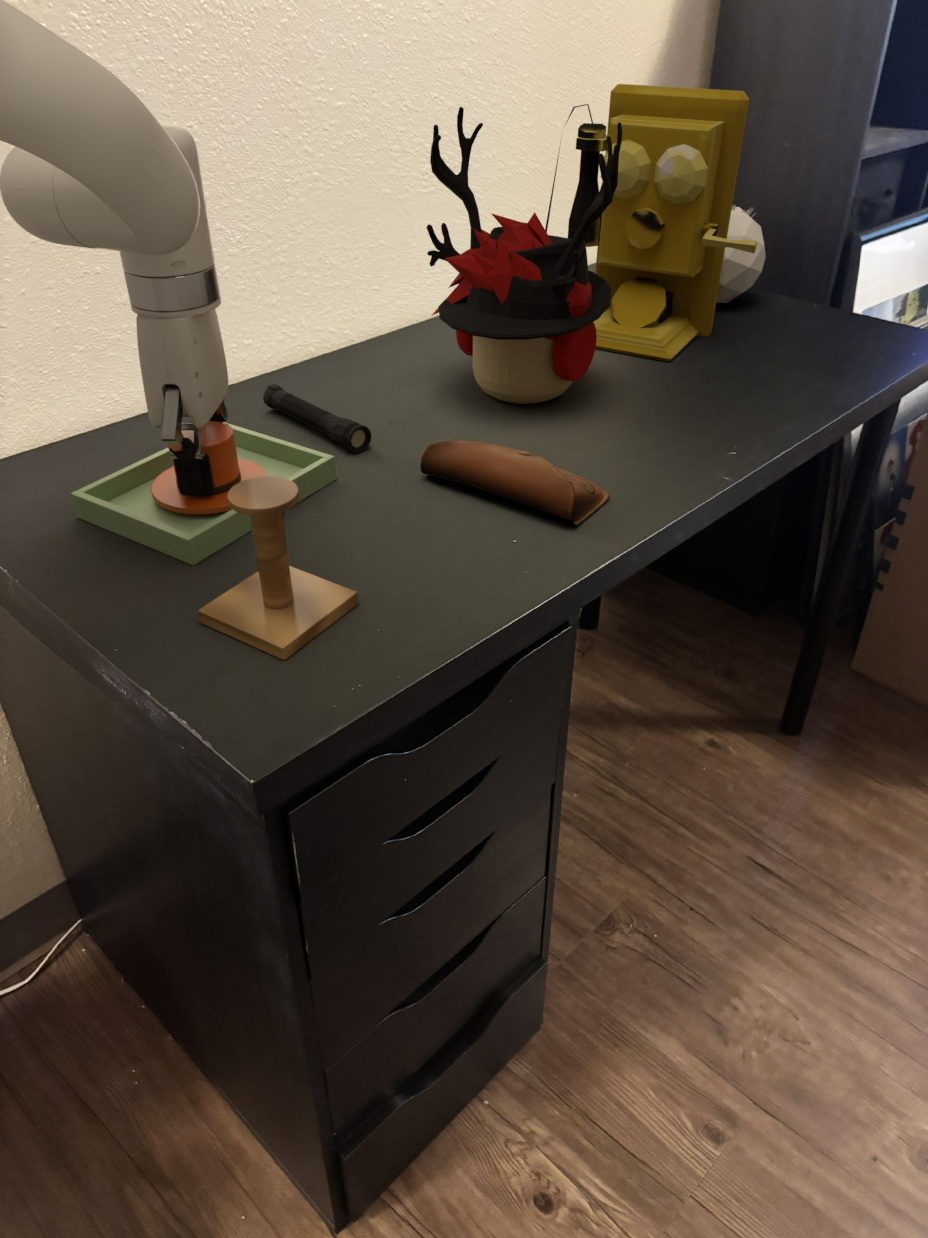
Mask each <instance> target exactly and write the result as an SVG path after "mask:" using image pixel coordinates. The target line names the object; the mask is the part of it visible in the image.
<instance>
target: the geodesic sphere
mask: <svg viewBox="0 0 928 1238" xmlns="http://www.w3.org/2000/svg"><path fill="white" fill-rule="evenodd" d="M753 211H754V208H753V207H750V208H748V209H747V210H746V209H745V210H744V209H742V208H741V207H740V206H736V204H732V209H731V215H730V222H729V228H728V234H727V239H729V240H751V241H757V246H756V251H755V253H750V252H746V251H742V250H738V249H734V248H730V247H725V252H724V258H723V264H722V271H721V277H720V283H719V289H718V295H717V301H716V304H728V303H730V302H731V301H733V300H734V299H735V298H737V297H738V296H740V295H742V294H744V293H745V292H746V291H747V290H749V289H751V288H752V287H753V286H754V285H755V283H756V281H757V280H758V278H759V277H760V275H761V274H762V272H763V269H764V265H765V261H766V257H767V255H766V248H765V247H766V246H765V240H764V235H763V230H762V226H761V225H760V224H759V223H758V222H756V221H755V219H754V218H753V217H754V216H755V215H756V214H757V212H754V213H753V214H752V212H753ZM751 214H752V215H751ZM750 215H751V216H750Z"/></svg>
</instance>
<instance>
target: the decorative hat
mask: <svg viewBox="0 0 928 1238" xmlns="http://www.w3.org/2000/svg"><path fill="white" fill-rule="evenodd" d="M464 109H465V108H464V107H463V106H459V107H458V111H457V115H456V116H457V117H456V128H457V136H458V137H457V138H458V144H459V148H460V154H461V166H460V171H459V172H458V173H457V174H456V173H455V172H454V171H453V170H452V169H451V168H450V167H449V166H448V165H447V163H446V162H445V161H444V159H443V158H442V157H441V151H440V141H441V139H442V136H441V135H440V134H439V133H440V132H439V131H440V130H439V125H438V124H434V125H433V133H432V143H431V148H430V161H429V162H430V168H431V173H432V174H433V175H434V176H435V178H436V179H437V180H438V181H439V183H441V184H443V185H444V186H445V187H446V188H447V189H448V190H449V191H451V192H452V193H453V194H454V195H455V196H456V197H457V198H459V200H460V201H462V203H463V206H464V207H465V210H466V212H467V215H468V221H469V226H470V243H469V244H470V248H468V249H467V250H465V251H464V252H462V253H459V251H457V250H456V248H455V247H454V246H453V243H452V240H451V236H450V232H449V228H448V226H447V224H446V223H445V222H442V223H441V225H440V229H441V235H442V238H443V242H441V240H439V238H438V236H437V235H436V233H435V230H434V227H433V226H432V224H430V223H429V224H427V226H426V231H427V233H428V236H429V238H430V241H431V242H432V245H433V247H434V248H435V249H436V250H435V249H432V250H428V251H427V255H428V256H430V261H429V266H430V267H435V265H436V263H437V262H438V261H439V260H441V261H445V262H447V263H448V264H449V265H450V266H451V267H452V268H453V269H455V271H456V272H457V273H458V274H457V275H456V277H455V278H454V279H453V281H452V282H451V284H450V285H449V286H448V288H452V287H455V286H456V287H455V288H454V289H452V291H451V292H450V294H449V295H448V296H447V297H446V298H445V299H444V300H443V301H442V302H441V303H440V304H439V305H438V306H437V308H436V310H435V311H433V313H432V314H431V316H434V315H436V314H438V315H439V320H441V321H442V322H443V323H444V324H445V325H447V326H448V327H450V328H451V329H452V330H455V335H456V343H457V346H458V348H459V350H460V351H462V352H463V353H464V354H465V355H466V356H470V357H472V371H473V376H474V380H475V382H476V384H477V385H478V386H479V387H480V389H481V390H482V392H484V393H485V394H487V395H489V396H491V397H493V398H495V399H496V400H499V401H502V402H505V403H511V404H519V405H523V404H524V405H527V404H528V405H529V404H530V405H532V404H539V403H544V402H548V401H550V400H552V399H554V398H557V397H559V396H560V395H563V394H564V393H565V392H566V391H567V389H569V387H570V386H571V385H572V383H573V382H577V381H579V380H580V379H582V378H583V377H584V375H586V373H587V372H588V370H589V368H590V366H591V364H592V363H593V359H594V356H595V352H596V349H595V347H596V328H595V324H594V321H596V320H597V319H599V318H600V316H601V315H602V314H603V313H604V311H605V310H606V309H607V308H608V307H609V305H610V301H611V294H612V289H611V287H610V286H609V284H608V282H607V281H606V280H605V279H603V278H602V277H600V276H598V275H597V274H595V272H594V271H592V270H589V265H588V252H587V247H586V243H585V237H586V235H587V233H588V231H589V230H590V228H591V227H592V226H593V224H594V223H595V221H596V220H597V219H598V218H599V217H600V216H601V215H602V213H603V212H604V211H605V209H606V208H607V207H608V206H609V205H610V204H611V203H612V199H613V195H614V193H615V190H616V188H617V185H618V165H619V152H620V148H621V142H622V125H621V123H620V122H619V123H618V125H617V144H616V145H615V146H614V150H613V154H612V141H611V138H610V136H607V137H606V138H607V147H608V160H607V165H606V162H605V159H604V154H603V153H600V154H599V156H598V157H599V172H600V178H601V177H602V178H601V181H602V182H601V186H600V187H599V193H598V195H597V196H596V198H595V200H594V202H593V204H592V206H591V207H590V208H589V209H588V210H587V211H586V212H585V214H584V216H583V218H582V220H581V222H580V224H579V226H578V228H577V230H576V232H575V234H574V236H573V238H572V239H569V238H568V237H562V236H557V235H551V234H548V231H547V232H546V231H545V227H544V225H543V223H542V222H541V220H540V218H539V217H538V215H537V214H536V212H535V211H534V213H533V214H532V215H531V217H530V219H529V220H528V222H524V221H519V220H516V219H512V218H509V217H505V216H502V215H499V214H495V213H490V215H492V217H493V218H494V219H495V220H496V221H497V222H498V224H499V225H500V226H496V227H493V229H492V230H491V231H490V233H489V232H488V231H486V230H484V229H482V225H481V218H480V211H479V207H478V204H477V201H476V197H475V194H474V192H473V191H472V189H471V188H470V186H469V167H470V166H469V165H470V159H471V152H472V147H473V144H474V143H475V141H476V138H477V137H478V134H479V132H480V131H481V129H482V128H483V126H484V123H483V122H480V123H478V124H477V125H476V127H475V128H474V130H473V132H472V133H471V136H470V137H466V135H465V133H464V126H463V124H464Z"/></svg>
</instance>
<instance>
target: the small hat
mask: <svg viewBox="0 0 928 1238" xmlns="http://www.w3.org/2000/svg"><path fill="white" fill-rule="evenodd" d="M181 431H182V434H183V435H184V438H189V439H190V440H191V441H192V442H193V443H194V433H193V431H194V430H181ZM203 435H204V455H209V459H210V464H211V470H212V476H213V481H214V487H215V492H214V494H213V495H212V496H186V495H182V494H181V493H180V490H179V485H178V480H177V475H176V470H175V465H174V461H173V465H174V466H173V467H171V468H169V469H167V470H165V471H164V472H162V473H161V474H160V475H159V476H157V477H156V479H155V480H154V481H153V483H152V486H151V493H152V497H153V499H154V501H155V502H156V503H157V504H158V505H159V506H161V507H163V508H165V509H167V510H170V511H173V512H177V513H183V514H212V513H219V512H224V511H228V510H232V509H231V507H230V506H229V504H228V498H227V494H228V492H229V490H230V489H231V488H232V487H233V486H234V485H236V484H237V483H239V482H241V481H244V480H247V479H251V478H255V477H263V476H267V475H266V473H265V471H264V469H263V468H262V467H260V466H259V465H258V464H256V463H254V462H251V461H248V460H245V459H240V458H238V457H237V451H236V445H235V438H234V432H233V429H232V428H231V426H229V425H227V424H225V423H222V422H216V421H208V422H207V423H206V424H205V425H204V426H203ZM172 460H173V459H172Z"/></svg>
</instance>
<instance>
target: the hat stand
mask: <svg viewBox="0 0 928 1238" xmlns="http://www.w3.org/2000/svg"><path fill="white" fill-rule="evenodd" d="M227 498H228V504H229V506H230V507H231V509H233V510H234V511H236V512H238V513H240V514H244V515H250V519H251V526H252V530H251V532H252V538H253V544H254V551H255V559H256V564H257V570H258V571H256V572H255V573H253V574H252V575H250V576H248V577H246V578H245V579H244V580H242V581H241V582H239V583H238V584H236V585H234V586H233V587H231V588H230V589H228V590H227V591H225V592H224V593H222V594H220V595H219V596H218V597H216V598H214V599H213V600H212V601H209V602H208V603H207V604H206V605H203V606H202V607H201V608H199V609H197V615H198V619H199V623H200V624H202V625H205V626H207V627H210V628H211V629H214V630H216V631H218V632H221V633H222V634H224V635H227V636H229V637H231V638H234V639H236V640H238V641H240V642H242V643H245V644H247V645H249V646H251V647H253V648H256V649H258V650H260V651H263V652H265V653H267V654H269V655H271V656H274V657H275V658H278V659H280V660H282V661H286V660H287V659H289V658H290V657H291V656H292V655H294V654H295V653H296V652H298V651H299V650H300V649H301V648H303V647H304V646H305V645H307V644H308V643H309V642H311V641H312V640H313V639H314V638H316V637H317V636H318V635H319V634H321V633H322V632H323V631H325V630H326V629H328V628H329V627H331V625H333V624H334V623H336V621H338V620H339V619H341V618H342V617H343V616H344V615H346V614H347V613H348V612H350V611H351V610H352V609H353V608H355V607H356V606H357V605H358V604H359V595H358V591H356V590H354V589H351V588H349V587H346V586H343V585H341V584H337V583H336V582H333V581H331V580H327V579H325V578H323V577H320V576H317V575H315V574H312V573H309V572H307V571H304V570H302V569H300V568H297V567H294V566H292V565H290V560H289V552H288V545H287V538H286V530H285V523H284V516H283V512H286V511H287V510H290V509H291V508H293V507H294V506H295V505H296V504H298V503H297V501H298V499H299V489H298V487H297V485H296V484H295V483H294V482H293V481H291V480H289V479H286V478H282V477H275V476H263V477H255V478H251V479H247V480H244V481H241V482H239V483H237V484H236V485H234V486H233V487H232V488H231V489H230V490H229V492H228V494H227Z"/></svg>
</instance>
